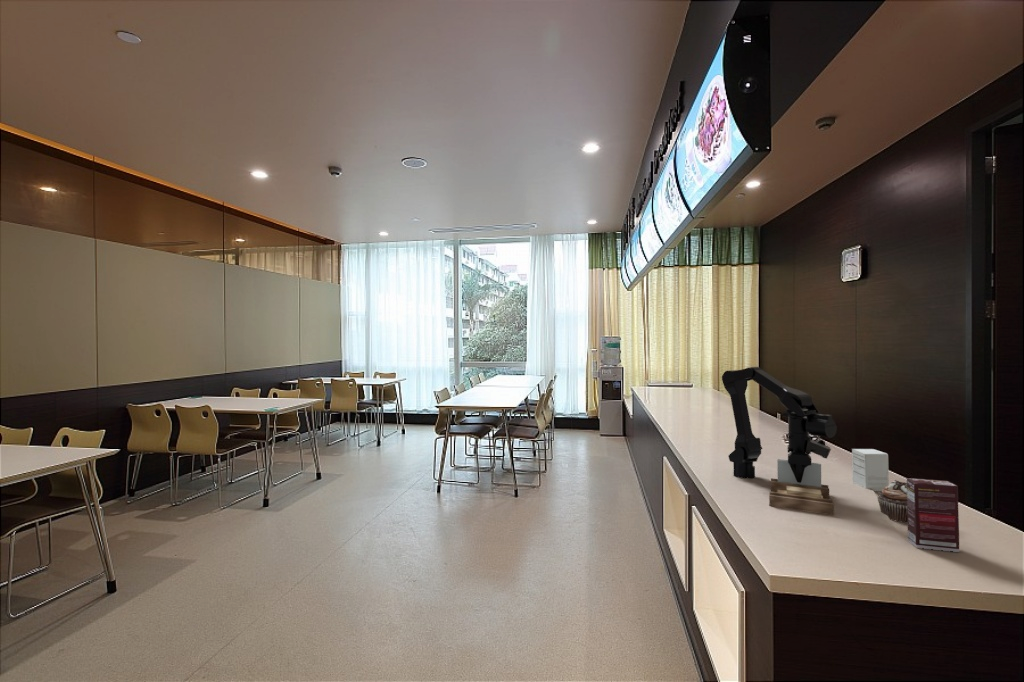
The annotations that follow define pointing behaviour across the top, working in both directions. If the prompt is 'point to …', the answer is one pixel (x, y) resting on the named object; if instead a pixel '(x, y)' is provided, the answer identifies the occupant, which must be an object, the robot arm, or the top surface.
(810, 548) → the top surface
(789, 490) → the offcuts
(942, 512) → the supplement box
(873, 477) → the supplement box
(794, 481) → the panel
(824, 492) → the rack
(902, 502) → the cupcake
